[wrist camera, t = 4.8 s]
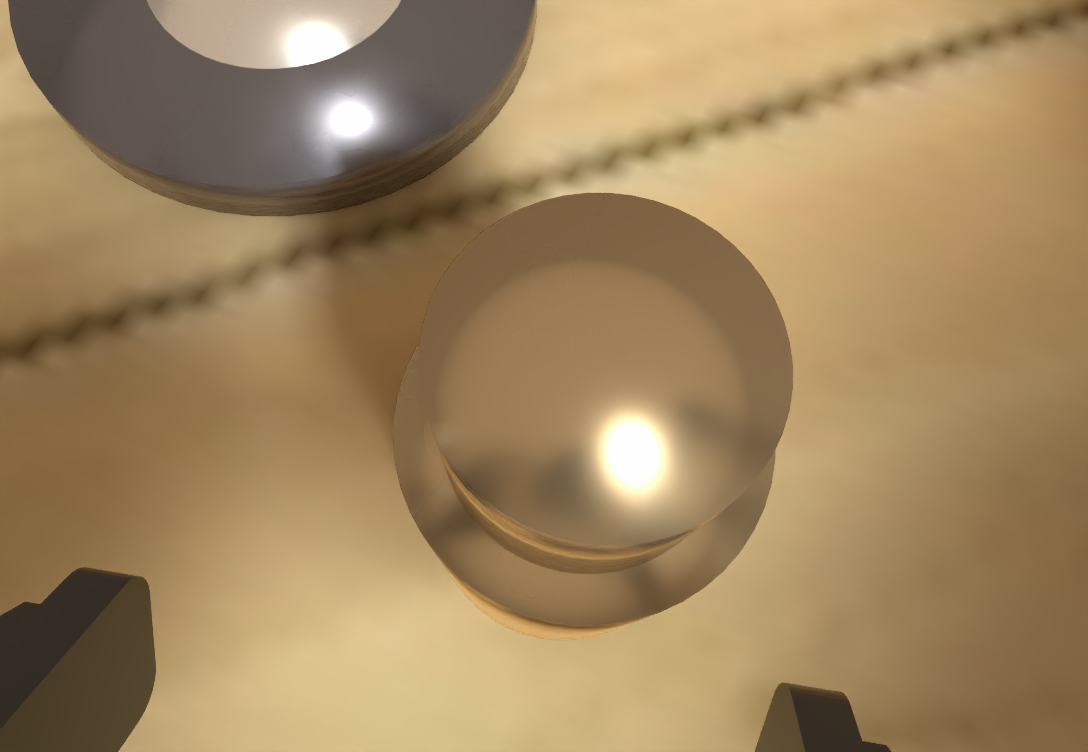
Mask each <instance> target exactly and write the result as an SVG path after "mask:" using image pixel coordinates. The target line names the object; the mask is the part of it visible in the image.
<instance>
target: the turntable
mask: <svg viewBox="0 0 1088 752" xmlns="http://www.w3.org/2000/svg"><path fill="white" fill-rule="evenodd" d="M8 3H9V12H10V22H11V27H12V31H13V34H14V38H15V41H16V44H17V48H18V51H19V53H20V55H21V57H22V59H23V61H24V64H25V66H26V68H27V70H28V72H29V74H30V76H31V78H32V79H33V80H34V82H35V83H36V84H37V86H38V87H39V89H40V90H41V91H42V93H43V94H44V95H45V97H46V98H47V100H48V101H49V102H50V103H51V105H52V106H53V107H54V108H55V109H56V111H57V112H58V113H59V114H60V116H61V117H62V118H63V119H64V120H65V122H66V123H67V124H68V125H69V126H70V128H71V129H72V130H73V131H74V132H75V134H76V135H77V136H78V137H79V138H80V139H81V140H82V141H83V142H84V143H85V144H86V145H87V146H88V147H89V148H90V149H91V150H92V151H93V152H94V153H95V154H96V155H97V156H98V157H99V158H100V159H101V160H102V161H104V162H105V163H107V164H108V165H109V166H111V167H112V168H113V169H115V170H116V171H117V172H119V173H120V174H122V175H123V176H124V177H126V178H128V179H130V180H132V181H133V182H135V183H137V184H139V185H141V186H143V187H145V188H147V189H148V190H150V191H152V192H154V193H157V194H160V195H162V196H165V197H168V198H170V199H173V200H176V201H178V202H181V203H184V204H187V205H192V206H196V207H200V208H204V209H208V210H213V211H217V212H224V213H233V214H241V215H250V216H292V215H301V214H310V213H319V212H326V211H331V210H335V209H339V208H344V207H348V206H352V205H357V204H361V203H363V202H366V201H369V200H372V199H375V198H378V197H380V196H383V195H386V194H389V193H392V192H394V191H396V190H398V189H400V188H402V187H404V186H406V185H409V184H411V183H413V182H415V181H417V180H419V179H421V178H423V177H425V176H426V175H428V174H429V173H431V172H432V171H434V170H435V169H437V168H439V167H440V166H442V165H443V164H445V163H446V162H448V161H449V160H451V159H452V158H453V157H455V156H456V155H457V154H458V153H459V152H461V151H462V150H463V149H464V148H465V147H467V146H468V145H469V144H470V143H471V142H473V141H474V140H475V139H476V138H477V137H478V136H479V135H480V134H481V133H482V131H483V130H484V129H485V128H486V127H487V126H488V125H489V124H490V123H491V122H492V121H493V119H494V118H495V117H496V116H497V115H498V113H499V112H500V110H501V109H502V107H503V106H504V104H505V103H506V102H507V100H508V99H509V97H510V96H511V94H512V93H513V91H514V89H515V87H516V85H517V83H518V81H519V79H520V77H521V75H522V73H523V71H524V69H525V66H526V63H527V60H528V56H529V53H530V50H531V47H532V43H533V38H534V31H535V24H536V17H537V0H8Z"/></svg>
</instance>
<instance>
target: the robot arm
mask: <svg viewBox="0 0 1088 752" xmlns="http://www.w3.org/2000/svg"><path fill="white" fill-rule="evenodd" d="M155 674H156V662H155V650H154V638H153V626H152V614H151V602H150V591H149V586H148V583H147V581H146V580H145V579H144V578H143V577H139V576H133V575H127V574H121V573H115V572H109V571H103V570H97V569H91V568H86V567H85V568H79V569H77V570H75V571H74V572H72V573H71V574H70V575H69V576H68V577H67V578H66V579H65V580H64V581H63V582H62V583H61V584H60V585H59V586H58V587H57V588H56V589H55V590H54V591H53V592H52V593H51V594H50V595H49V596H48V597H47V598H46V599H45V600H44V601H43V602H42V603H41V604H35V603H30V602H24V603H22V604H20V605H19V606H17V607H15V608H13V609H12V610H10V611H8V612H6V613H4V614H3V615H1V616H0V752H118V751H119V750H120V748H121V747H122V745H123V744H124V742H125V741H126V739H127V738H128V736H129V735H130V733H131V732H132V730H133V729H134V728H135V726H136V725H137V723H138V722H139V720H140V718H141V717H142V715H143V713H144V711H145V709H146V707H147V704H148V702H149V699H150V697H151V693H152V690H153V686H154V681H155ZM755 752H891V751H890V750H889V748H888V747H887V746H886V745H882V744H876V743H870V742H864V741H862V739H861V736H860V733H859V730H858V727H857V724H856V721H855V718H854V715H853V712H852V709H851V706H850V703H849V700H848V699H847V697H846V696H845V695H844V694H843V693H841V692H836V691H831V690H825V689H819V688H813V687H807V686H801V685H795V684H789V683H781V684H779V685H778V687H777V689H776V690H775V693H774V696H773V699H772V702H771V705H770V708H769V711H768V713H767V716H766V719H765V722H764V725H763V728H762V731H761V734H760V737H759V740H758V743H757V746H756V749H755Z"/></svg>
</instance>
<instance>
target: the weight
mask: <svg viewBox="0 0 1088 752" xmlns="http://www.w3.org/2000/svg"><path fill="white" fill-rule="evenodd" d="M792 389H793V364H792V356H791V349H790V342H789V338H788V334H787V331H786V327H785V323H784V320H783V318H782V315H781V313H780V310H779V308H778V306H777V303H776V301H775V299H774V297H773V295H772V294H771V292H770V290H769V288H768V287H767V285H766V283H765V281H764V280H763V278H762V277H761V276H760V274H759V273H758V272H757V271H756V269H755V268H754V267H753V265H752V264H751V263H750V261H749V260H748V259H747V258H746V257H745V256H744V255H743V254H742V253H741V252H740V251H739V250H738V249H737V248H736V247H735V246H734V245H733V244H732V243H731V242H729V241H728V240H727V239H726V238H724V237H723V236H722V235H721V234H720V233H718V232H717V231H716V230H714V229H713V228H711V227H710V226H708V225H706V224H705V223H703V222H702V221H700V220H699V219H697V218H695V217H693V216H691V215H689V214H687V213H685V212H683V211H681V210H679V209H677V208H674V207H671V206H668V205H665V204H662V203H660V202H657V201H654V200H649V199H645V198H641V197H636V196H631V195H623V194H614V193H583V194H574V195H566V196H561V197H557V198H552V199H548V200H544V201H541V202H538V203H535V204H533V205H530V206H527V207H524V208H522V209H520V210H518V211H516V212H514V213H512V214H510V215H508V216H506V217H504V218H502V219H500V220H499V221H497V222H496V223H495V224H493V225H492V226H490V227H489V228H487V229H486V230H484V231H483V232H482V233H481V234H479V235H478V236H477V237H476V238H475V239H474V240H473V241H471V242H470V243H469V244H468V245H467V246H466V247H465V248H464V249H463V250H462V252H461V253H460V254H459V255H458V256H457V257H456V258H455V260H454V261H453V262H452V263H451V265H450V266H449V268H448V269H447V271H446V272H445V274H444V275H443V277H442V278H441V280H440V281H439V283H438V285H437V288H436V290H435V292H434V294H433V296H432V298H431V300H430V302H429V305H428V309H427V312H426V315H425V318H424V321H423V325H422V331H421V336H420V342H419V344H418V346H417V347H416V349H415V351H414V353H413V355H412V357H411V359H410V361H409V364H408V366H407V368H406V370H405V373H404V376H403V379H402V382H401V385H400V389H399V392H398V397H397V402H396V408H395V414H394V430H393V445H394V455H395V465H396V469H397V474H398V478H399V482H400V486H401V490H402V493H403V495H404V498H405V500H406V503H407V505H408V508H409V511H410V513H411V515H412V517H413V519H414V520H415V522H416V524H417V526H418V528H419V529H420V531H421V533H422V535H423V536H424V538H425V539H426V541H427V542H428V544H429V545H430V546H431V548H432V549H433V551H434V552H435V554H436V555H437V556H438V558H439V559H440V561H441V562H442V564H443V565H444V566H445V568H446V569H447V571H448V572H449V574H450V575H451V577H452V578H453V579H454V581H455V582H456V584H457V585H458V586H459V588H460V589H461V590H462V592H463V593H464V594H465V596H466V597H467V598H468V599H469V600H470V601H471V602H472V603H473V604H474V605H475V606H476V607H477V608H478V609H480V610H481V611H482V612H483V613H485V614H486V615H487V616H489V617H490V618H491V619H493V620H495V621H496V622H498V623H500V624H501V625H503V626H505V627H507V628H509V629H512V630H514V631H517V632H519V633H522V634H525V635H529V636H533V637H537V638H543V639H551V640H574V639H580V638H586V637H591V636H595V635H598V634H601V633H604V632H608V631H610V630H613V629H616V628H618V627H621V626H624V625H627V624H629V623H632V622H635V621H638V620H640V619H643V618H646V617H648V616H651V615H654V614H657V613H659V612H661V611H664V610H666V609H668V608H670V607H672V606H674V605H676V604H679V603H681V602H683V601H684V600H686V599H687V598H689V597H691V596H692V595H694V594H695V593H697V592H698V591H700V590H701V589H703V588H704V587H706V586H707V585H708V584H709V583H710V582H711V581H712V580H714V579H715V578H716V577H717V576H718V575H719V574H720V573H722V572H723V571H724V570H725V569H726V567H727V566H728V565H729V564H730V563H731V562H732V561H733V559H734V558H735V557H736V556H737V555H738V554H739V552H740V551H741V550H742V548H743V547H744V545H745V543H746V542H747V540H748V539H749V537H750V536H751V534H752V533H753V531H754V529H755V527H756V525H757V523H758V520H759V518H760V516H761V514H762V512H763V509H764V507H765V504H766V500H767V497H768V494H769V490H770V487H771V484H772V477H773V470H774V464H775V449H776V447H777V444H778V442H779V440H780V438H781V436H782V433H783V430H784V427H785V423H786V420H787V417H788V413H789V409H790V402H791V395H792Z"/></svg>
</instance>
